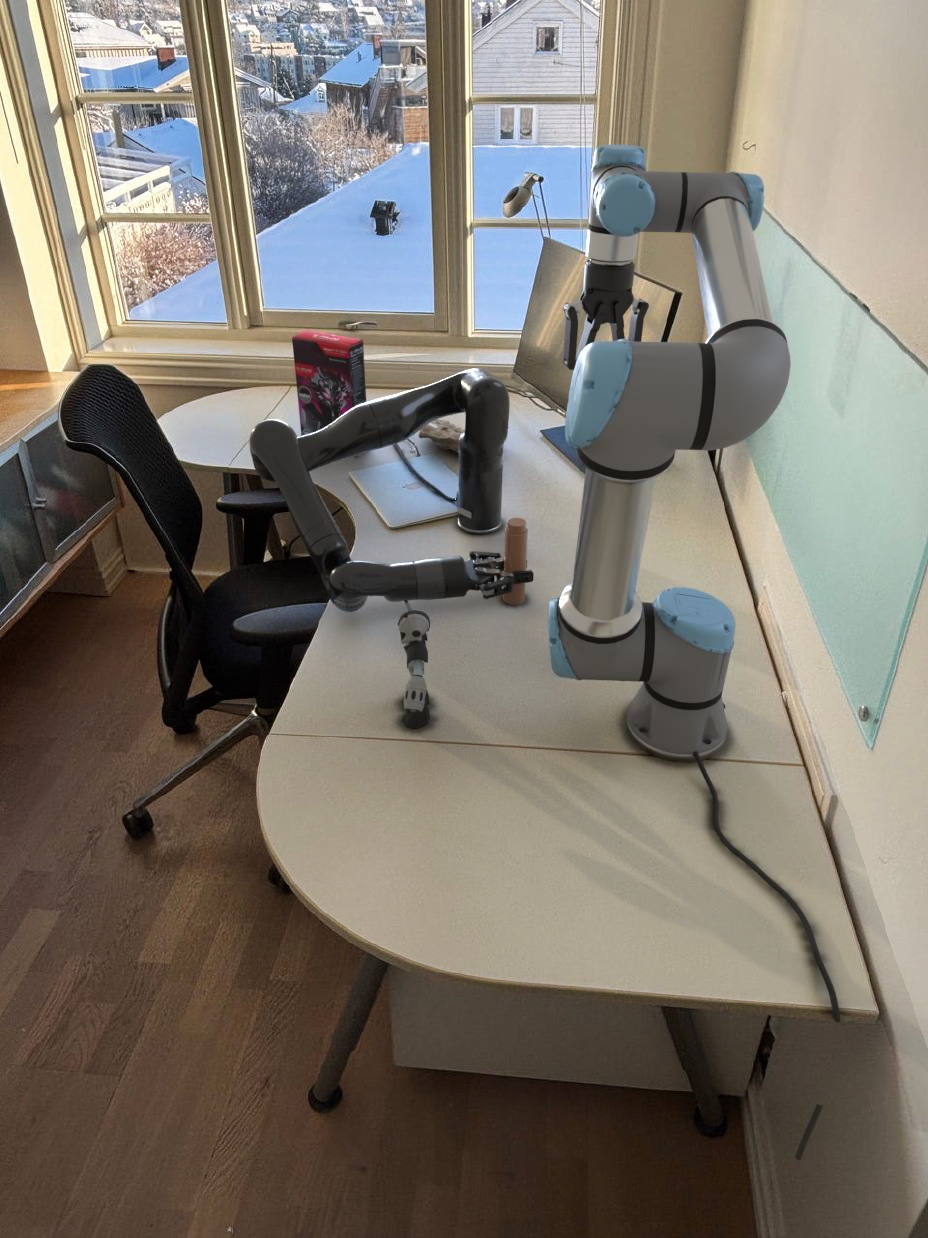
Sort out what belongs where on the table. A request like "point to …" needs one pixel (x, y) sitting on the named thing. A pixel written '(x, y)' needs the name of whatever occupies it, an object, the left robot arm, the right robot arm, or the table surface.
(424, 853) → the table surface
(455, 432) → the stone
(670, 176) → the right robot arm
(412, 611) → the robot
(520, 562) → the jar
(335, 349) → the graphics card box
